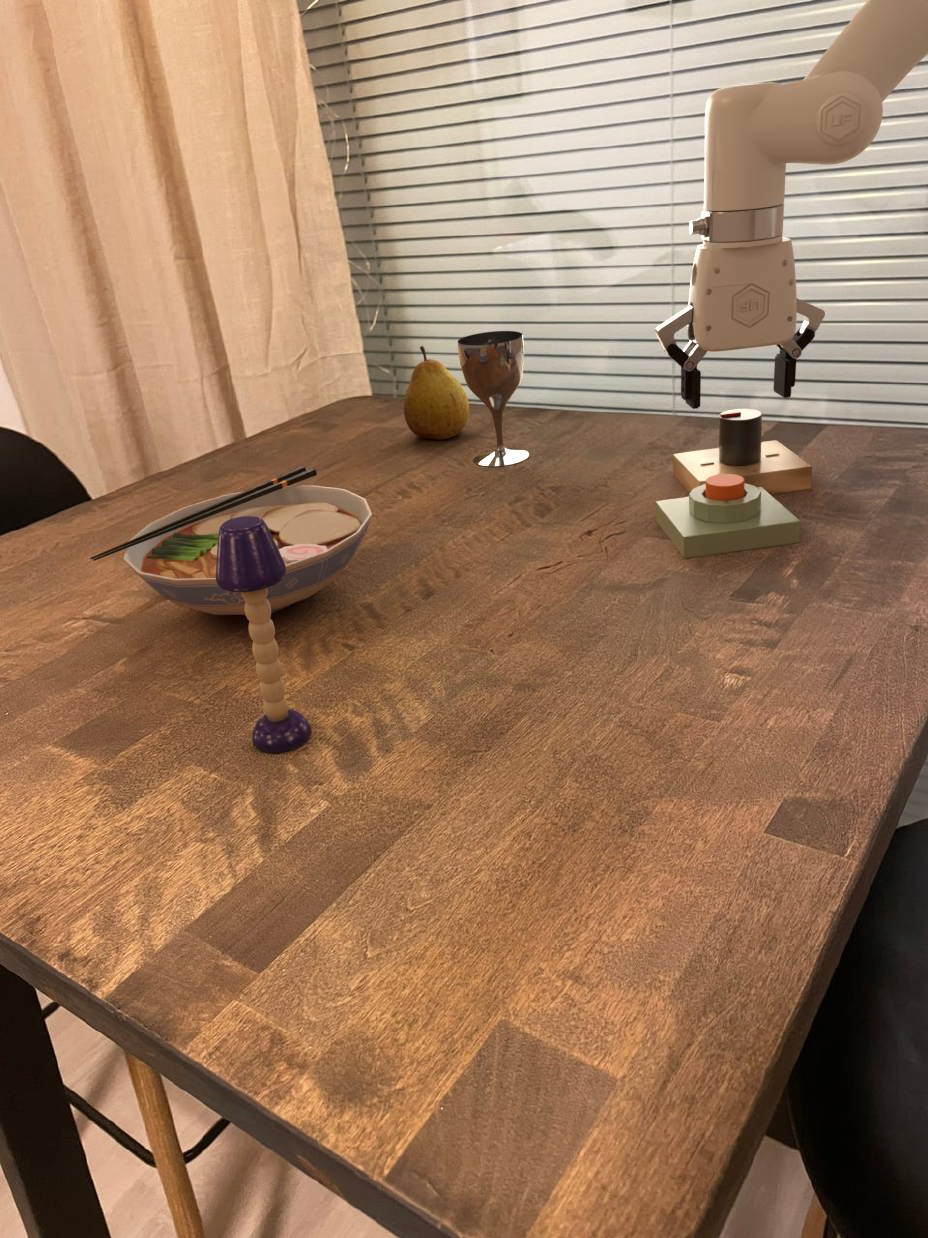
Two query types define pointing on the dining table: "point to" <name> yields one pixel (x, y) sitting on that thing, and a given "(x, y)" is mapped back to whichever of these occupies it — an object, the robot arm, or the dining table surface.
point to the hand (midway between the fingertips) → (737, 400)
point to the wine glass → (494, 383)
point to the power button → (725, 487)
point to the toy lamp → (260, 624)
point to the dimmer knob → (740, 437)
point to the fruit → (435, 402)
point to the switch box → (726, 522)
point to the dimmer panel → (747, 469)
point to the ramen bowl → (297, 519)
